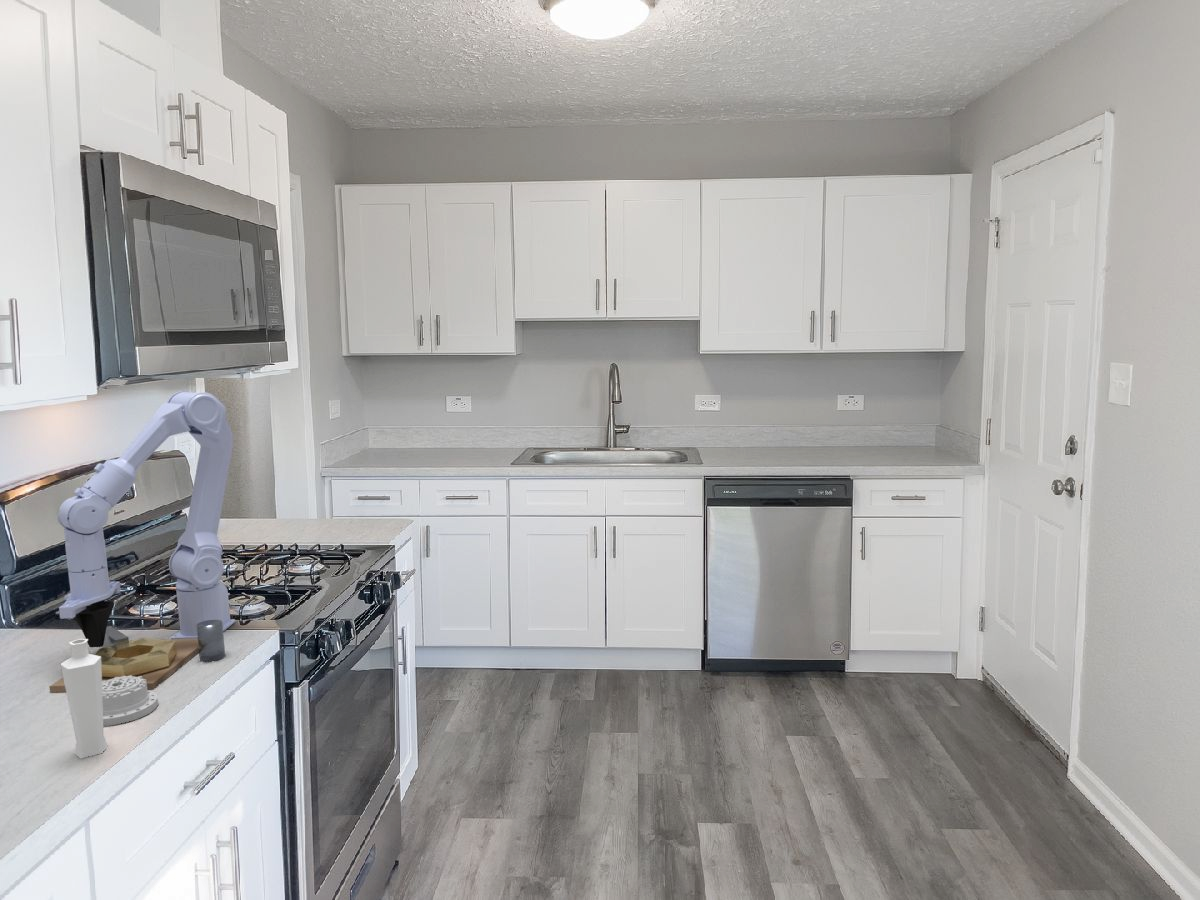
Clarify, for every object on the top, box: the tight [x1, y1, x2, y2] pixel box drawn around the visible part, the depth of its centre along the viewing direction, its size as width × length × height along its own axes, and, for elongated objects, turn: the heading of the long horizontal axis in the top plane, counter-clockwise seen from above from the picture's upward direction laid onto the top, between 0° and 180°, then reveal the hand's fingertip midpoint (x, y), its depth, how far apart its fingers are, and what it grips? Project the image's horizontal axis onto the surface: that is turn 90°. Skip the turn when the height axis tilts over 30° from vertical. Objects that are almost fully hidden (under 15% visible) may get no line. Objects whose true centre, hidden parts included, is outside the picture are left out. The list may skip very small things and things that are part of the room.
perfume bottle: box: [60, 638, 109, 759], centre depth 116 cm, size 5×4×15 cm
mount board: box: [49, 638, 199, 693], centre depth 147 cm, size 20×16×1 cm
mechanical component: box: [102, 675, 159, 727], centre depth 129 cm, size 10×4×10 cm
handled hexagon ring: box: [94, 625, 177, 678], centre depth 147 cm, size 20×13×3 cm
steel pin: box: [196, 620, 226, 663], centre depth 149 cm, size 4×4×6 cm
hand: (96, 646), depth 150 cm, fingers closed
